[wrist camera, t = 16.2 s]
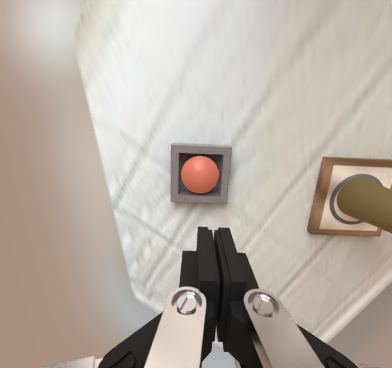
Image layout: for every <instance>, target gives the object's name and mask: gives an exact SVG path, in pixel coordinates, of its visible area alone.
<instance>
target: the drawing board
mask: <svg viewBox="0 0 392 368" xmlns="http://www.w3.org/2000/svg"><path fill="white" fill-rule="evenodd" d="M361 177H363V178H368V179H370V180H372V181H374V182H376V183H378V184H380V185H382V186H384V187H386V188H388V189H390V190H392V160H386V159H363V158H340V157H323V160H322V164H321V169H320V173H319V178H318V183H317V187H316V192H315V197H314V201H313V206H312V211H311V215H310V220H309V225H308V229H307V230H308V231H309V232H310V233H311V234H328V235H355V236H380V234H381V231H382V229H380V228H378V227H375V226H373V225H370V224H368V223H365V222H363V221H360V220H358V219H355V218H353V217H350V216H348V215H346V214H344V213H342V212H341V211H340V210H339V208H338V206H337V196H338V193H339V191H340V189H341V188H342V187H343V186H344V185H345V184H346V183H347V182H348V181H350V180H353V179H355V178H361Z"/></svg>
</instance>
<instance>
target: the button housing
mask: <svg viewBox="0 0 392 368" xmlns="http://www.w3.org/2000/svg"><path fill="white" fill-rule="evenodd" d="M231 151H232V147H230V146H227V145H205V144H183V143H173V144H172V145H171V202H193V203H218V204H227V194H228V184H229V173H230V162H231ZM180 153H198V154H220V155H221V163H220V175H219V188H218V191H208V192H206V193H194V192H192V191H190V190H179V171H180Z"/></svg>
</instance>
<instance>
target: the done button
mask: <svg viewBox="0 0 392 368" xmlns="http://www.w3.org/2000/svg"><path fill="white" fill-rule="evenodd" d="M181 178H182V182H183V184H184V186H185V187H186V188H187V189H188V190H190V191H192V192H194V193H206V192H208V191H210V190H212V189H213V188H214V187H215V186H216V184H217V182H218V179H219V171H218V168H217V166H216V164H215V162H214V161H213V160H212V159H211V158H210V157H208V156H205V155H195V156H192V157H190V158H189V159H188V160H187V161H186V162H185V163H184V165H183V168H182V172H181Z"/></svg>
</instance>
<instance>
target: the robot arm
mask: <svg viewBox="0 0 392 368" xmlns="http://www.w3.org/2000/svg"><path fill="white" fill-rule="evenodd" d="M216 328H217V337H218V342H223V349H224V352H229V353H230V354H231V355H232V356H233V357H234V358H235V364H236V368H378V367H374V366H370V365H366V364H362V363H359V366H356V365H355V364H354V363H353V362H352V361H351V360H349V359H348V358H347V357H345V356H344V355H342V354H341V353H340V352H338V351H336V350H335V349H333V348H332V347H330V346H329V345H327V344H326V343H324V342H323V341H321V340H320V339H318V338H317V337H315V336H314V335H312V334H311V333H309V332H308V331H306V330H305V329H303V328H302V327H300V326H299V325H297V324H296V323H295V322H294V320H293V319H292V317H291V316H290V314H289V313H288V311H287V310H286V308H285V307H284V305H283V304H282V302H281V301H280V300H279V299H278V297H276V296H275V295H274V294H273V293H271V292H269V291H266V290H263V289H259V287H258V284H257V282H256V279H255V276H254V274H253V271H252V269H251V266H250V264H249V261H248V258H247V256H246V254H245V253H237V250H236V247H235V244H234V241H233V238H232V235H231V232H230V229H229V228H218V230H215V232H214V240H213V233H212V230H208V227H198V233H197V251H183V253H182V264H181V274H180V285H179V288H178V289H176V290H174V291H173V292H172V293H171V294H170V295H169V297H168V299H167V302H166V305H165V308H164V311H163V312H162V313H160V314H159V315H158V316H157V317H155V318H154V319H152V320H151V321H150V322H148V323H147V324H146V325H144V326H143V327H142V328H140V329H139V330H138V331H136V332H135V333H133V334H132V335H131V336H129V337H128V338H127V339H125V340H124V341H122V342H121V343H120V344H118V345H117V346H116V347H114V348H113V349H112V350H110V351H109V352H108V353H107V354H106V355H105V356H104V358H100V359H96V360H95V356H92V357H87V358H82V359H78V360H73V361H69V362H64V363H59V364H55V365H50V366H45V367H41V368H202V361H203V360H204V359H205V358H206V357H207V356H208V355H209V353H210V352H211V349H212V342H214V341H215V331H216Z"/></svg>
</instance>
